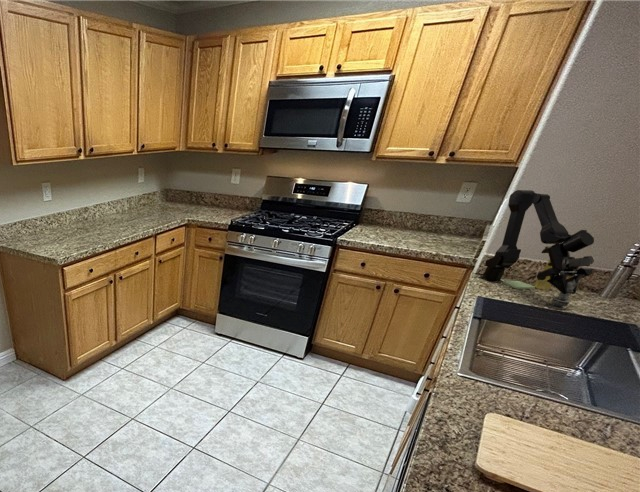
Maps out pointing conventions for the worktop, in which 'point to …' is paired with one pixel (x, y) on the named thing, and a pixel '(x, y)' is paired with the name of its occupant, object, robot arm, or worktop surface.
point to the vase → (543, 281)
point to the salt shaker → (563, 297)
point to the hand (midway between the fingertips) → (569, 293)
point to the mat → (518, 285)
